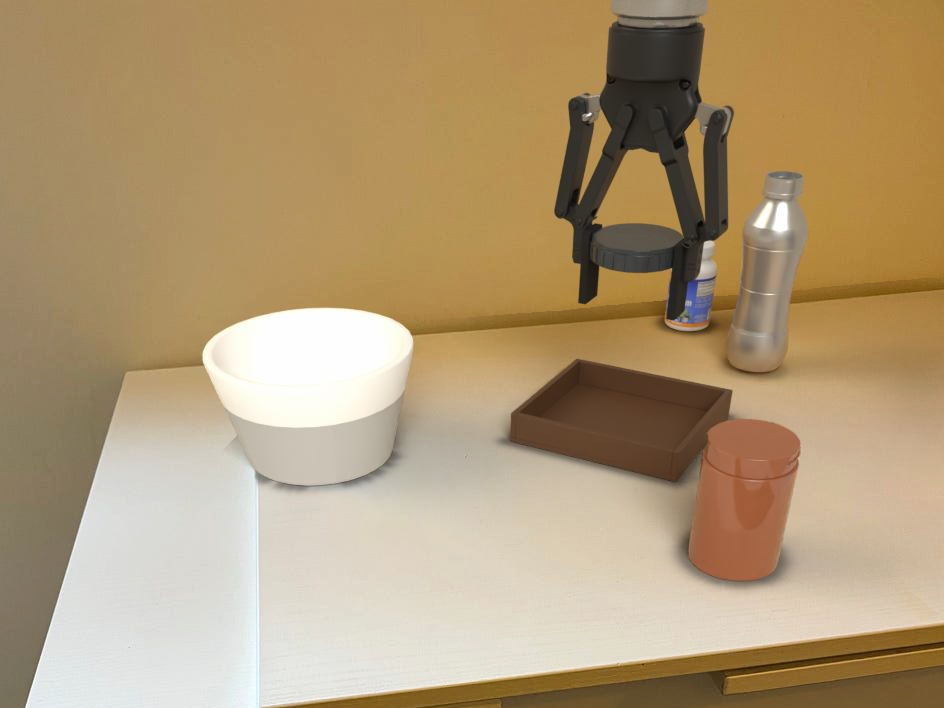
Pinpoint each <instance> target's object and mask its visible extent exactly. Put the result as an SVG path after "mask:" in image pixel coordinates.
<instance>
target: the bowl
mask: <svg viewBox="0 0 944 708" xmlns="http://www.w3.org/2000/svg"><path fill="white" fill-rule="evenodd" d="M414 343H415V341H414V338H413V336H412V334H411V331H410V330H409V329H408V328H407V327H405V326H404V325H403V324H402V323H400V322H398V321H397V320H395V319H393V318H392V317H388V316H386V315H382V314H380V313H377V312H376V313H375V312H371V311H366V310H361V309H352V308H342V307H341V308H340V307H307V308H306V307H305V308H295V309H287V310H282V311H275V312H270V313H266V314H262V315H258V316H254V317H251V318H247V319H245V320H242V321H239V322H236V323H235V324H232V325H230V326H228V327H226V328H224V329H222V330H221V331H219V332H218V333H216V334H215V335H213V336H212V337H211V339H210V340H208V341H207V343H206V344H205V347H204V349H203V350H202V364H203V366H204V367H205V370H206V372H207V375H208V376H209V377H208V378H210V381H211V383H212V385H213V387H214V389H215V392H216V394H217V396H218V398H219V400H220V402H221V404H222V406H223V408H224V411H225V412H226V414H227V416H228V419H229V421H230V423H231V426H232V428H233V429H234V432H235V434H236V436H237V438H238V440H239V443H240V444H241V446H242V449H243V451H244V453H245V455H246V458H247V460H248V462H249V464H250V465H251V467H252V468H253V469H254V471H256V472H257V473H258V474H259V475H261V476H263V477H265V478H267V479H269V480H273V481H275V482H278V483H283V484H289V485H294V486H297V485H298V486H305V487H306V486H327V485H334V484H335V485H336V484H339V483H344V482H349V481H352V480H355V479H359V478H362V477H364V476H366V475H368V474H371V473H372V472H375V471H376V470H377V469H379V468H380V467H382V466H383V465H384V464H385V463H386V462H387V461H388V460H389V459H390V457H391V455H392V453H393V450H394V446H395V440H396V435H397V431H398V425H399V422H400V421H399V420H400V416H401V411H402V406H403V400H404V396H405V392H406V388H407V383H408V378H409V373H410V368H411V363H412V358H413V353H414V347H415V345H414Z"/></svg>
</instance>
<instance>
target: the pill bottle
mask: <svg viewBox="0 0 944 708" xmlns="http://www.w3.org/2000/svg"><path fill="white" fill-rule="evenodd" d="M715 247H716V243H715V241H706V242H704V246H703V254H702V260H701V269H700V273H699V275H698V277H697V278H696V279H695V280H694V281H693V282H688V288H687V295H686V303H685V311H684V312H683V313H682V314H681V315H680V316H679V317H677V318H676V319H675V320H674V321H673V320H668V319H666V316H667V308H668V299H669V291H670V282H671V273H672V268H671V269H670V272H669V280H668V289H667V295H666V296H667V298H666V306H665V313H664V323H665V325H666V326H667V327H669V328H671V329H672V330H676V331H680V332H698V331H701V330H705V329H706V328H707V327H708V326H709V324H710V319H711V314H712V306H713V299H714V293H715V287H716V281H717V274H718V273H717V272H718V265H717V263H716V262H715V261H714V260H713V259H712V258H713V257H714V254H715Z"/></svg>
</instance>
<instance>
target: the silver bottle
mask: <svg viewBox="0 0 944 708" xmlns="http://www.w3.org/2000/svg"><path fill="white" fill-rule="evenodd" d="M804 181H805V175H804V174H802V173H800V172H796V171H791V170H790V171H789V170H775V171H769V172H767V173H766V174H765V179H764V184H763V187H762V189H761V195H762V196H763V199H762V200H761V202H760V203H758V204H757V206H756V207H755V208H754V209H753V210H752V211H751V212H750V214H749V215H748V216H747V217H746V219H745V221H744V224H743V225H742V229H741V230H742V231H741V269H740V283H739V290H738V291H739V292H738V296H737V301H736V306H735V310H734V314H733V318H732V322H731V324H730V326H729V329H728V333H727V336H726V338H725V339H726V340H725V356H726V358H727V360H728V362H729V364H730V365H731V366H733V368H736V369H738V370H742V371H746V372H751V373H752V372H753V373H765V372H766V373H767V372H771V371H774V370H777V368H779V367H780V366H781V365H782V364H783V363H784V361H785V358H786V356H787V353H788V350H789V342H790V341H789V340H790V339H789V337H790V336H789V334H790V333H789V321H790V309H791V297H792V294H793V289H794V288H793V286H794V284H795V280H796V276H797V272H798V268H799V265H800V262H801V259H802V255H803V252H804V250H805V247H806V243H807V241H808V240H807V239H808V236H809V225H808V221H807V219H806V216H805V214H804V210H803V209H802V207H801V205H800V203H799V199H800V198H801V197H802V196H803V192H804V191H803V187H804Z"/></svg>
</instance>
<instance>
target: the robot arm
mask: <svg viewBox="0 0 944 708" xmlns="http://www.w3.org/2000/svg"><path fill="white" fill-rule="evenodd" d="M708 9H709V0H610V8H609V11H610V12H611V13H612V14H613V16H615V17H617V18H616V19H617V20H616V21H614V22H612V23H611V26H609V27H608V34H607V35H608V36H607V50H606V66H605V71H606V72H605V76H606V79H605V83H604V86H603V88H602V90H601V92H600V93H598V94H591V93H589V92H584V93H581V94H579V95H577V96H574V97H572V98H570V99H569V101H568V103H567V104H568V105H567V108H568V118H569V119H568V121H569V132H568V137H567V143H566V148H565V153H564V159H563V164H562V168H561V172H560V173H561V174H560V177H559V179H560V180H559V184H558V189H557V195H556V199H555V204H554V209H553V213H554V216H555V217H556V218H557V219H560V220H561V219H564V220H565V221H567V222H568V223H570V224H571V226H572V229H573V234H572V250H571V258H572V262H573V264H578V265H579V283H578V284H579V285H578V298H577V299H578V300H577V304H580V305H587V304H588V303H590V302H591V301H592V300H594V299H595V298H596V297H597V296H598V293H599V292H598V291H599V277H600V266H598V265H597V264H595V263H594V262H593V261H592V260H591V256H590V243H591V241H592V234H593V233H594V232H595V231H596V230H598V229H600V228H602V227H603V224H602V223H596V222H595V223H593V221H595V220H597V218H598V217H599V216H598V212H599V210H600V208H601V206H602V204H603V202H604V200H605V198H606V196H607V193H608V192H609V189H610V187H611V186H612V183H613V182H614V181H613V180H615V177H616V174H617V173H618V170H619V169H620V166H621V164H622V162H623V161H624V158H625V156H626V154H627V153H628V152H629V151H634V150H639V149H641V150H644V151H646V152H649V153H655V154H658V156H659V161H660V163H661V165H662V166H663V167H664V170H665V173H666V177H667V180H668V185H669V189H670V192H671V195H672V200H673V204H674V206H675V211H676V214H677V218H678V222H679V225H680V230H681V234H682V235H683V239H682V240H681V241H679V242H678V243H677V244H675V247H674V256H673V265H672V273H671V282H670V291H669V299H668V308H667V316H666V319H668V320H673V321H674V320H675V319H676V318H677V317H679V316H680V315H681V314H682V313H683V312H684V311H685V303H686V295H687V288H688V282H693V281H694V280H695V279H696V278H697V277H698V275H699V273H700V269H701V260H702V254H703V246H704V242H706V241H713V242H715V241H716V240H717V239H719V238H720V237H722V236H723V235H724V234H725V233H726V232H727V231H728V229H729V184H728V183H729V179H728V178H729V175H728V173H729V172H728V171H729V170H728V169H729V168H728V136H729V133H730V129H731V126H732V123H733V119H734V116H735V110H734V108H733V106H730V105H724V106H722V107H721V106H720V107H719V106H716V105H713V104H710V103H706V102H703V100H702V96H701V94H700V93H701V92H700V89H699V81H700V74H701V69H702V67H701V66H702V59H703V51H704V43H705V33H706V28H705V27H704V24H703V23H702V22H700V21H699V19H700V17H703V16H705V15H706V14H707V13H708ZM600 111H602V113H603V115H604V118H605V119H606V122H607V123H608V125H609V127H610V129H611V130H610V132H609V134H608V136H607V138H606V140H605V143H604V145H603V147H602V150H601V152H602V153H601V155H600V158H599V160H598V162H597V164H596V166H595V168H594V171H593V173H592V175H591V177H590V179H589V182H588V183H587V186H586V188H585V190H584V192H583V194H582V197H581V191H582V187H583V182H584V178H585V173H586V169H587V163H588V159H589V154H590V149H591V145H592V140H593V135H594V130H595V122H597V120H599V117H600ZM695 119H696V120H698V122H699V132H700V134H701V135H702V136H704V138H703V144H702V161H703V163H702V164H703V166H702V167H703V197H704V201H703V202H704V213H703V209H702V205H701V202H700V197H699V193H698V189H697V185H696V181H695V177H694V172H693V170H692V166H691V161H690V158H689V151H690V149H689V145H688V141H687V137H686V134H685V133H686V131H687V129H688V128H689V127H690V125H691V124H693V122H694V121H695ZM580 197H581V199H580Z"/></svg>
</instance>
